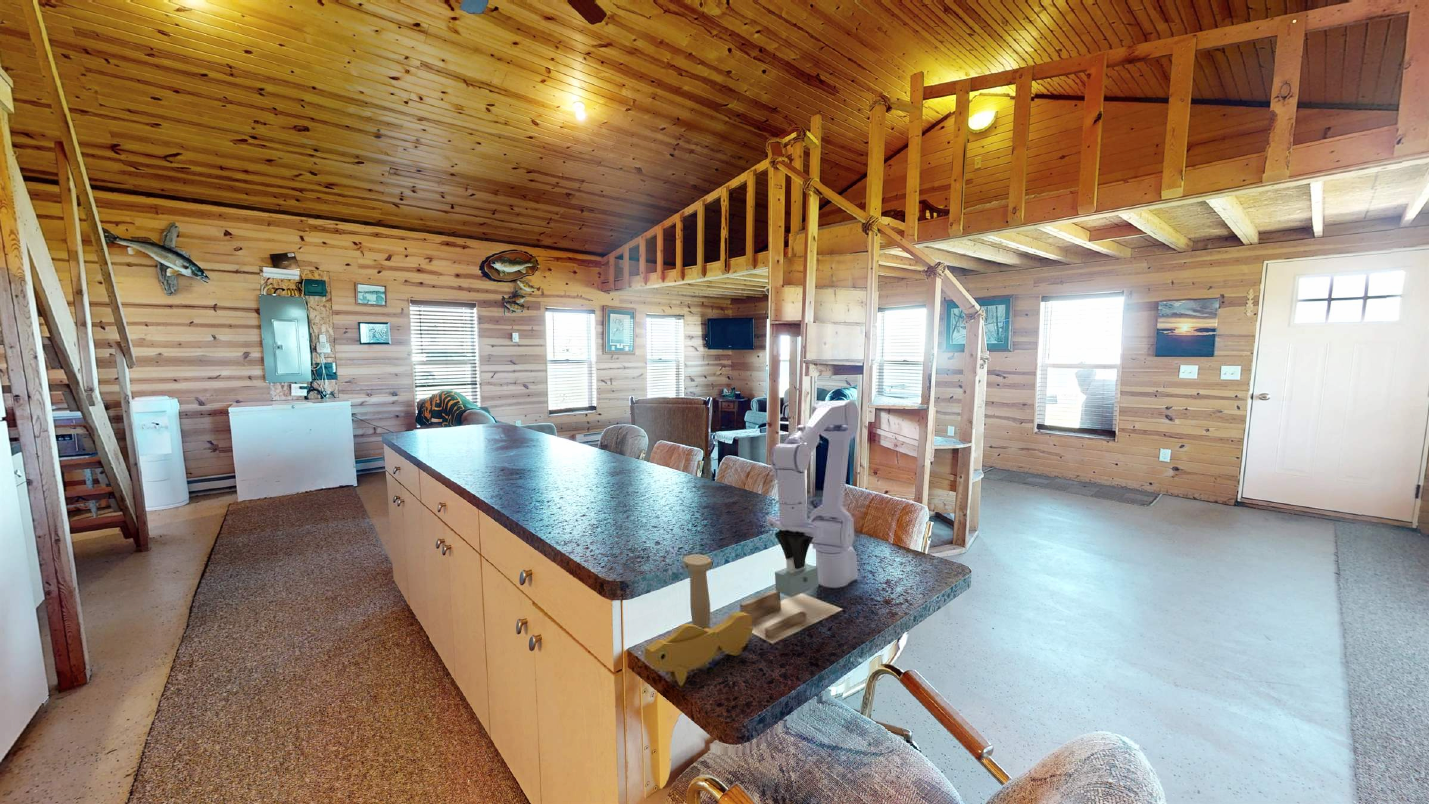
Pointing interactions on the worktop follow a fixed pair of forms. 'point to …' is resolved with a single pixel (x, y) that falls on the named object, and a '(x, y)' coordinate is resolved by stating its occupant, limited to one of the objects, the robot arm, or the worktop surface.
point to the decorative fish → (698, 645)
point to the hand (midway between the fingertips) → (796, 566)
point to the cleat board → (784, 614)
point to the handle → (699, 589)
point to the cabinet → (796, 579)
